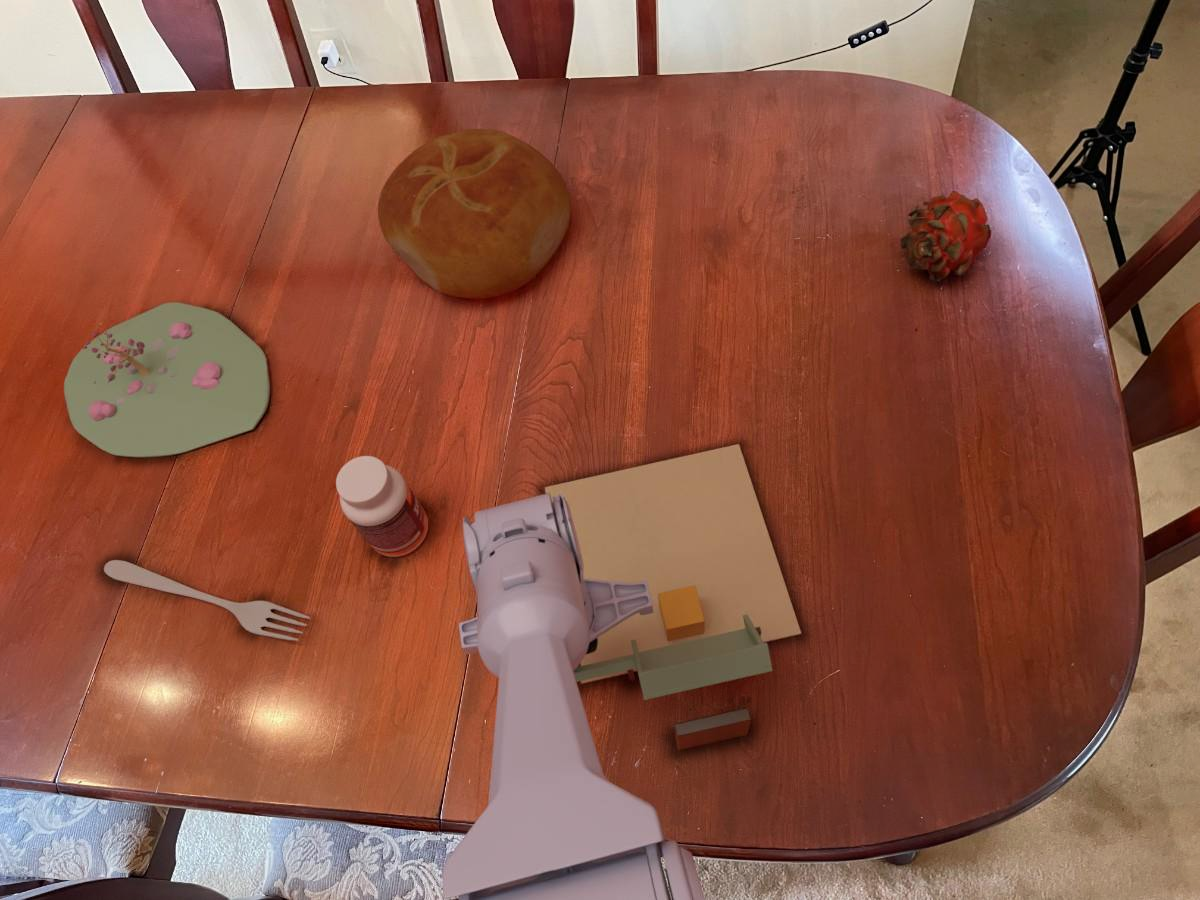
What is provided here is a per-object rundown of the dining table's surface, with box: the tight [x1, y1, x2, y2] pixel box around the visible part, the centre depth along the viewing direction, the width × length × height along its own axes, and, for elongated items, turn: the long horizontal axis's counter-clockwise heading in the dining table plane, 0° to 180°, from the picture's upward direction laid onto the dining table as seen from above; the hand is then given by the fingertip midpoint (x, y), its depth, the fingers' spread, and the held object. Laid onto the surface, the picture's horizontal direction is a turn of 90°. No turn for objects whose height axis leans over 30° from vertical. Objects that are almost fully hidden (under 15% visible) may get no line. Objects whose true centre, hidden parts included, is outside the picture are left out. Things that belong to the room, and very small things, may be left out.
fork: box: [103, 559, 312, 642], centre depth 82 cm, size 3×24×2 cm, turn 71°
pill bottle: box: [335, 455, 429, 558], centre depth 80 cm, size 6×6×11 cm
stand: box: [627, 627, 761, 751], centre depth 71 cm, size 7×12×6 cm, turn 101°
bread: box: [377, 128, 572, 300], centre depth 99 cm, size 23×23×10 cm
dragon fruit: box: [899, 190, 992, 283], centre depth 92 cm, size 8×8×12 cm
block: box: [658, 585, 705, 641], centre depth 75 cm, size 3×3×3 cm
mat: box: [544, 443, 802, 685], centre depth 80 cm, size 20×20×1 cm
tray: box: [573, 614, 773, 701], centre depth 67 cm, size 10×16×2 cm
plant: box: [63, 301, 271, 459], centre depth 93 cm, size 25×21×9 cm
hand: (570, 646), depth 71 cm, fingers closed, pressing on tray
